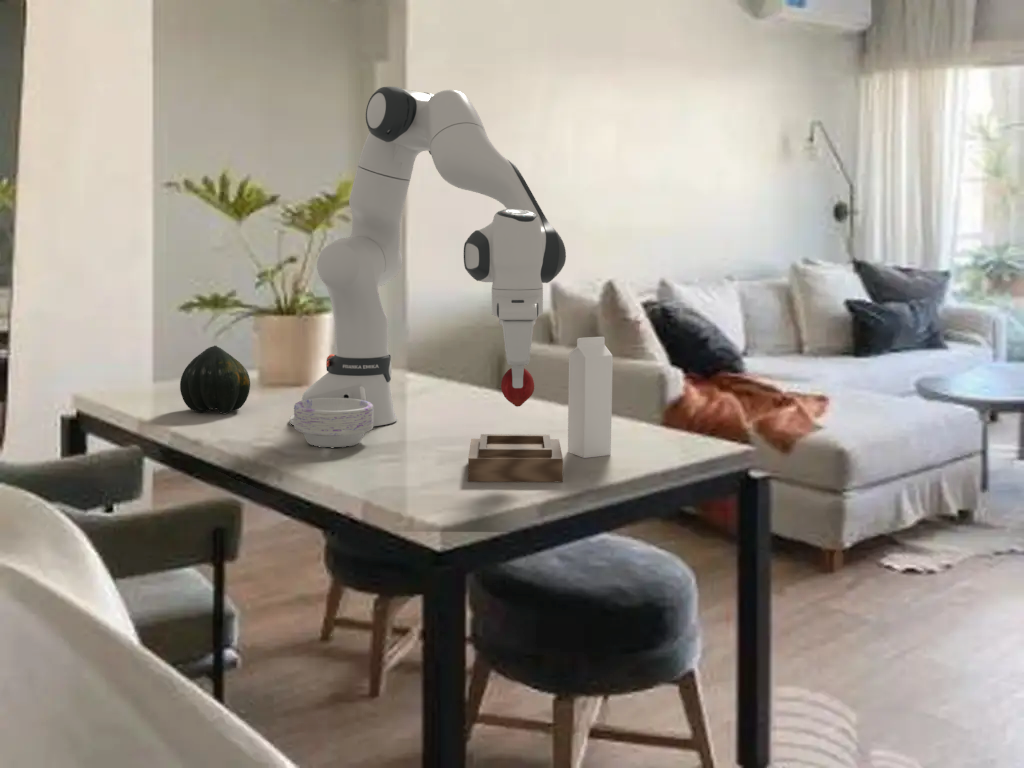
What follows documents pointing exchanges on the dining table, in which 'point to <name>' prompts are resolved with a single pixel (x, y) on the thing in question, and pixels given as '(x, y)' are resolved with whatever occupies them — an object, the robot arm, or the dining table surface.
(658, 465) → the dining table surface
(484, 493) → the dining table surface
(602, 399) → the milk
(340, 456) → the dining table surface
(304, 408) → the paper bowls
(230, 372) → the squash
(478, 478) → the walnut pedestal
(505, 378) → the onion
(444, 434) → the dining table surface
